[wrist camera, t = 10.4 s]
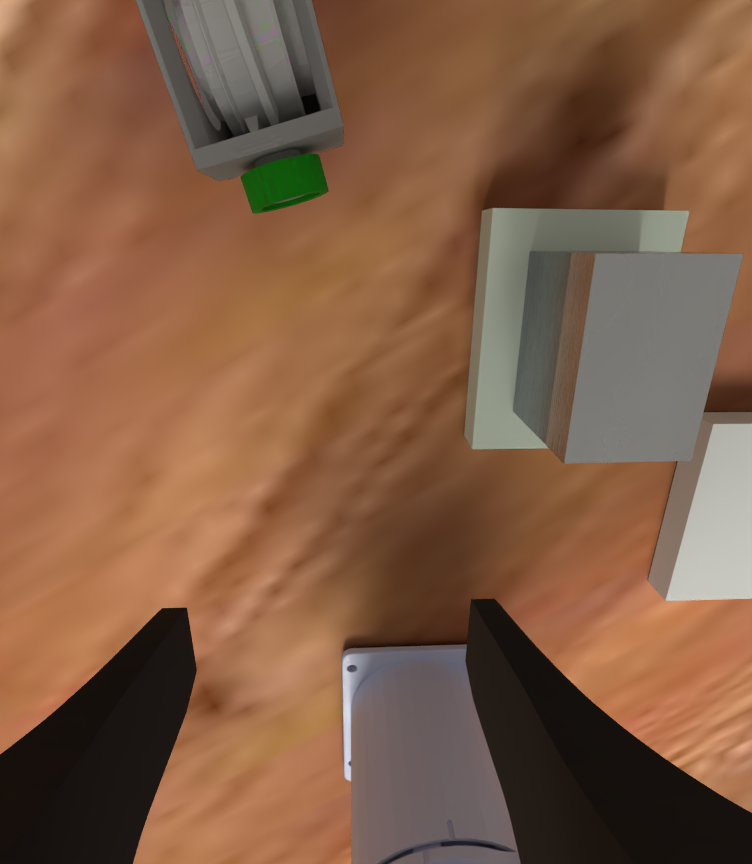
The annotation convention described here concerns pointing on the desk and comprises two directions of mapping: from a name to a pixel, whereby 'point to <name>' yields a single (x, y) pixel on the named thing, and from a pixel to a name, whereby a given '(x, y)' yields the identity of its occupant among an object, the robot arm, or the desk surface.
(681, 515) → the stand
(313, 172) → the mechanical component
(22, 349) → the desk surface
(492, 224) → the stand
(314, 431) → the desk surface
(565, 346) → the block
